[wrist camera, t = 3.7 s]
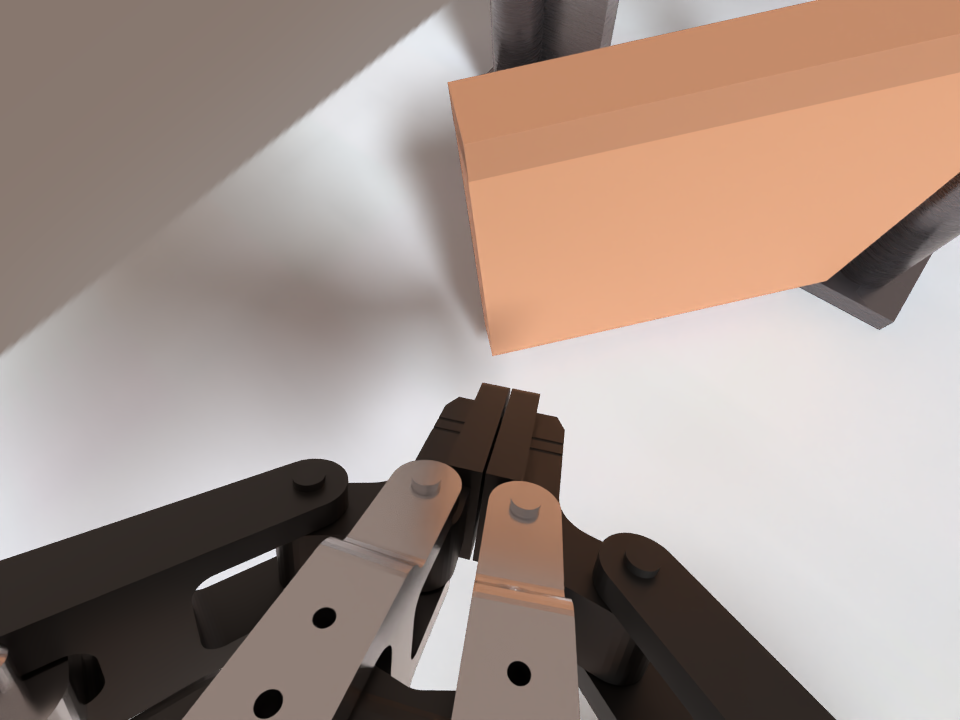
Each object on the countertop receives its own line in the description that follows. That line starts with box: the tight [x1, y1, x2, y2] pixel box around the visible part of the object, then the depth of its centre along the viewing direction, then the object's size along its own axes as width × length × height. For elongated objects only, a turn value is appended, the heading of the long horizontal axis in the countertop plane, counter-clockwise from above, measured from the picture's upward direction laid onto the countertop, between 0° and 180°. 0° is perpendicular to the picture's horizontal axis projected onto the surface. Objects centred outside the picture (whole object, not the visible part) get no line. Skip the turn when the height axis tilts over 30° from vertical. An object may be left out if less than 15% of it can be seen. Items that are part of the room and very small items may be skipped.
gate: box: [448, 0, 960, 356], centre depth 14 cm, size 14×2×11 cm, turn 102°
